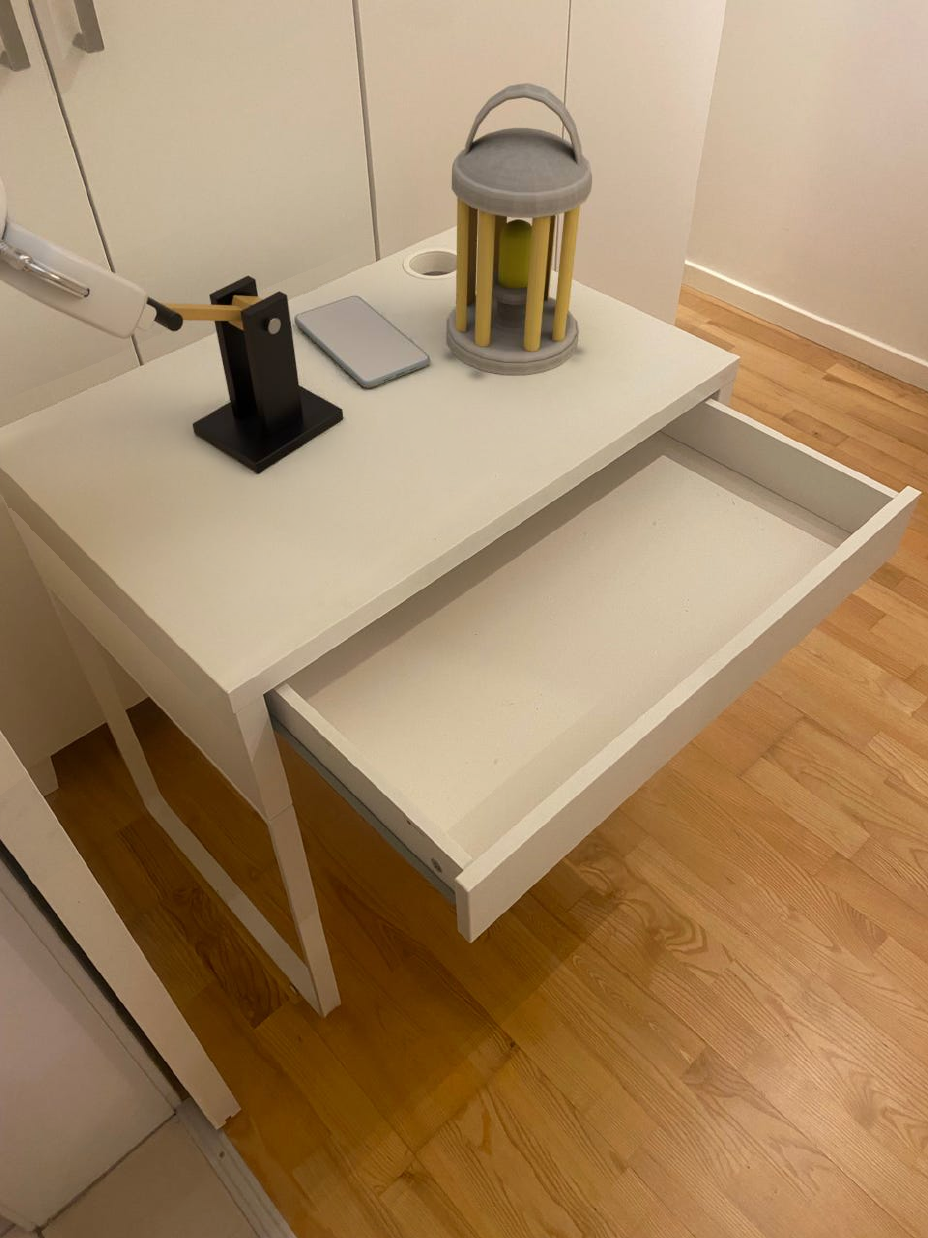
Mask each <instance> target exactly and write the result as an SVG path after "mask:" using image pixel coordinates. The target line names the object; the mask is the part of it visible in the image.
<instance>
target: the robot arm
mask: <svg viewBox="0 0 928 1238" xmlns="http://www.w3.org/2000/svg"><path fill="white" fill-rule="evenodd" d="M0 281H2V282H3V283H5V284H6V285H8V286H10V287H12V288H14V289H15V290H17V291H19V292H20V293H22V294H23V295H26V296H28V297H29V298H31V299H33V300H35V301H37V302H38V303H40V304H43V305H45V306H46V307H48V308H51V309H53V310H55V311H57V312H58V313H61V314H64V315H66V316H68V317H71V318H72V319H74V320H77V321H79V322H81V323H84V324H85V325H88V326H90V327H92V328H94V329H96V330H99V331H101V332H103V333H105V334H108V335H111V336H113V337H115V338H119V339H123V340H124V339H125V340H126V339H130V338H131V337H132V336H133V335H134V333H135V331H136V329H139V330H142V331H144V332H146V331H149V330H150V329H151V328H152V326H153V323H154V322H155V321H154V319H155V317H156V313H157V312H156V309H155V308H154V307H152V306H150V305H148V304H146V303H147V299H148V297H149V296H148V293H147V291H145V289H143V288H142V287H141V286H139V285H138V284H136V283H134V282H133V281H131V280H128V279H127V278H125V277H123V276H121V275H119V274H117V273H115V272H113V271H112V270H110V269H107V268H105V267H104V266H102V265H100V264H98V263H96V262H94V261H93V260H90V259H89V258H87V257H85V256H83V255H81V254H79V253H77V252H76V251H74V250H72V249H70V248H68V247H66V246H64V245H62V244H61V243H58V242H56V241H55V240H53V239H51V238H49V237H47V236H45V235H43V234H41V233H39V232H38V231H35V230H33V229H32V228H30V227H29V226H26V225H24V224H22V223H20V222H18V221H17V216H16V211H15V208H14V205H13V202H12V201H11V199H10V198H9V195H8V194H6V188H5V185H4V182H3V179H2V177H1V176H0Z"/></svg>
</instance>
